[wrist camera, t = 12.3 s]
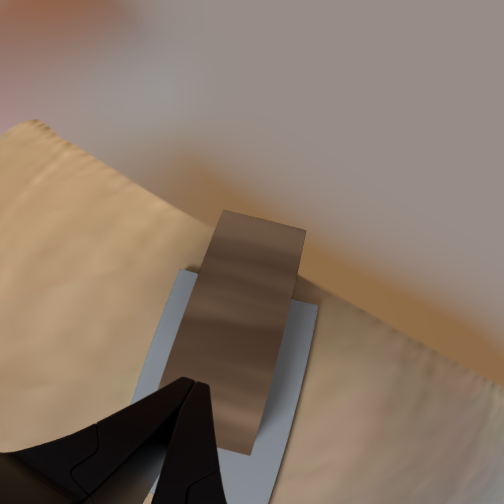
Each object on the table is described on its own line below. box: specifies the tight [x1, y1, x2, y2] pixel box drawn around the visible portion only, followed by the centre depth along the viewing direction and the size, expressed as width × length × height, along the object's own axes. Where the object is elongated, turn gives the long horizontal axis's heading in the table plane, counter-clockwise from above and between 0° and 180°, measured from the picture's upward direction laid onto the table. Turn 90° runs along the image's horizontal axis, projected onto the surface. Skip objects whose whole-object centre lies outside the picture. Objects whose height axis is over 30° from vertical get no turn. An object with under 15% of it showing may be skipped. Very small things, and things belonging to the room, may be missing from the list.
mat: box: [130, 269, 318, 504], centre depth 16 cm, size 14×9×1 cm, turn 165°
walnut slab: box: [158, 210, 306, 456], centre depth 16 cm, size 3×5×12 cm
